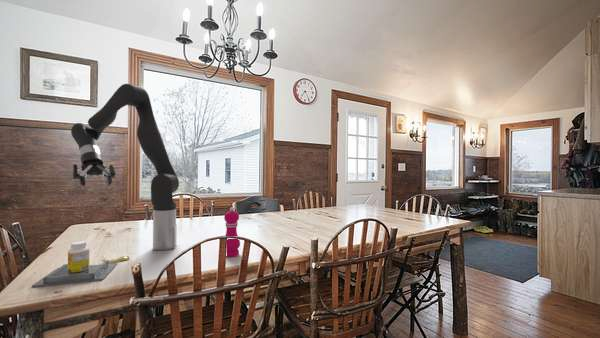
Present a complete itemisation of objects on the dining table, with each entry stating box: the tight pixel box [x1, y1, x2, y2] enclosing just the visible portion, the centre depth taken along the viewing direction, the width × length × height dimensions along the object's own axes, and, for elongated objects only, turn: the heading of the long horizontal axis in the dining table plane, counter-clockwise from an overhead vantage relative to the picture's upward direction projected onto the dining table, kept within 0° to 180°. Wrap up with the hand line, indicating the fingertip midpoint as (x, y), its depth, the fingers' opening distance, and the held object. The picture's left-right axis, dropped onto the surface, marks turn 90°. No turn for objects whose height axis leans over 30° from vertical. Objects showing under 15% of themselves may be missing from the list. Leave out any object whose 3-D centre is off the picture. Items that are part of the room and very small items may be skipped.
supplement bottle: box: [67, 240, 90, 275], centre depth 89 cm, size 6×6×10 cm
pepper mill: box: [223, 206, 241, 258], centre depth 112 cm, size 7×7×20 cm
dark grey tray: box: [31, 260, 118, 288], centre depth 89 cm, size 18×14×2 cm
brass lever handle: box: [107, 255, 130, 264], centre depth 103 cm, size 7×3×1 cm, turn 143°
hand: (97, 184), depth 111 cm, fingers open, 8 cm apart
